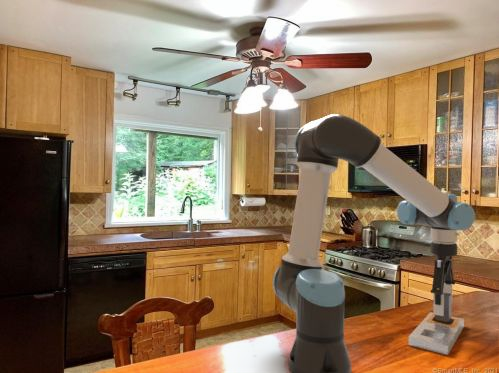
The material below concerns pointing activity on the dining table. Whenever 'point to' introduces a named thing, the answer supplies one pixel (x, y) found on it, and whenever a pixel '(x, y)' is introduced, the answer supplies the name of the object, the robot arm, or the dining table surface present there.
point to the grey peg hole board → (436, 334)
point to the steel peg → (445, 310)
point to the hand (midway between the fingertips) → (443, 309)
